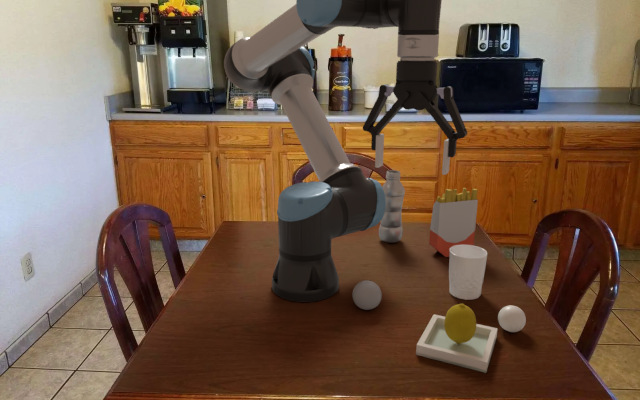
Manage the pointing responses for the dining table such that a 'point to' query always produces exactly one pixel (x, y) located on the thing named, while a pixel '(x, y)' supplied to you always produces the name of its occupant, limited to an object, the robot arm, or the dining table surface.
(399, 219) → the plastic bottle
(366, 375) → the dining table surface
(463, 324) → the lemon
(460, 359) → the square dish
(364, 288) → the grey rubber ball
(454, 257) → the white cup
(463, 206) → the french fries container
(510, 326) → the white plastic ball
